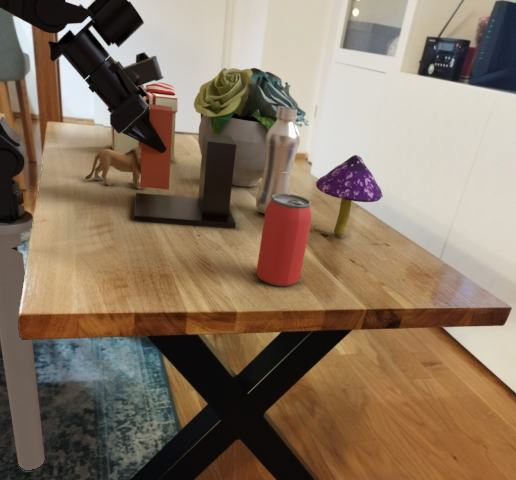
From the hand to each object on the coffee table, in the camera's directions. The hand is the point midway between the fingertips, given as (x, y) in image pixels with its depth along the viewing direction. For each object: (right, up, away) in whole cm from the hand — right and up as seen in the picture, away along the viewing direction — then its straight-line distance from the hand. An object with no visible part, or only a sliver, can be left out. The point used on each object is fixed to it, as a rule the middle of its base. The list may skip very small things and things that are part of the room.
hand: (164, 147), depth 90 cm
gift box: (-15, +15, +43) cm, 48 cm away
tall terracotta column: (-2, -6, +3) cm, 7 cm away
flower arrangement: (+12, +4, +32) cm, 34 cm away
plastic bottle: (+19, -8, +14) cm, 25 cm away
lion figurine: (-12, -1, +17) cm, 21 cm away
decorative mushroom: (+32, -14, +8) cm, 36 cm away
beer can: (+20, -25, -13) cm, 35 cm away
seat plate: (+2, -10, +7) cm, 12 cm away
